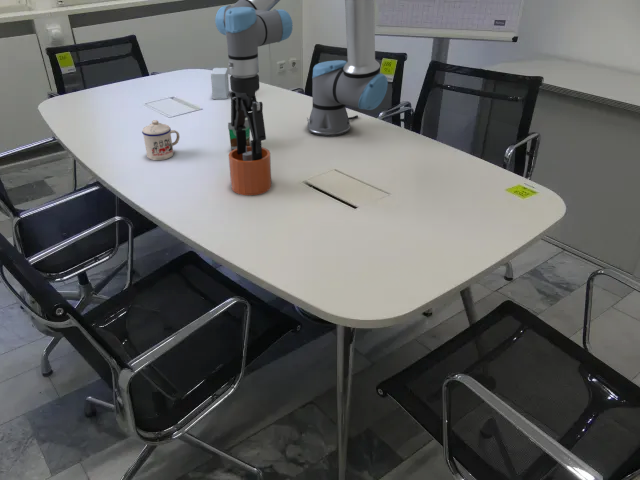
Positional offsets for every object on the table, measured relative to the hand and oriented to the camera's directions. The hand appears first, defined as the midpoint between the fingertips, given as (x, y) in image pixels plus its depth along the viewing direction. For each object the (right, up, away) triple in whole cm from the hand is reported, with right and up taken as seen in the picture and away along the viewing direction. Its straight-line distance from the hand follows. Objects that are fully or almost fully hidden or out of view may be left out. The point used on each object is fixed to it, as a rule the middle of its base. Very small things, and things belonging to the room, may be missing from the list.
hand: (249, 157), depth 150 cm
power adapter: (0, -7, +5) cm, 8 cm away
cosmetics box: (-17, +44, +81) cm, 93 cm away
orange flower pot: (0, -7, +5) cm, 9 cm away
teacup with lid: (-30, +7, +27) cm, 41 cm away
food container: (-4, +10, +31) cm, 33 cm away
